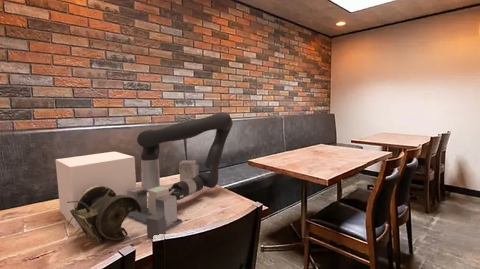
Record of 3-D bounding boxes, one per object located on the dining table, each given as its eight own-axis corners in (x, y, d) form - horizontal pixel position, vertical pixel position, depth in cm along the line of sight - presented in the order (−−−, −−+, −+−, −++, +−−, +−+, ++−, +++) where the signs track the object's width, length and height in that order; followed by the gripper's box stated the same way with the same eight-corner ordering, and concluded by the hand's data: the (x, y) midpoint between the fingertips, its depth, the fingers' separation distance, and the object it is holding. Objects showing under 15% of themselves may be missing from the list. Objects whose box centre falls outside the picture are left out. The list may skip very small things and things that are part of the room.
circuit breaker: (199, 182, 160) (198, 158, 158) (193, 190, 146) (192, 163, 144) (187, 182, 161) (186, 158, 159) (179, 189, 147) (178, 163, 145)
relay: (147, 236, 95) (146, 218, 94) (154, 231, 99) (153, 213, 98) (158, 239, 93) (158, 220, 93) (165, 233, 97) (164, 215, 96)
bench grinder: (122, 208, 113) (96, 170, 104) (151, 219, 98) (124, 177, 90) (77, 246, 99) (43, 207, 91) (103, 266, 85) (66, 222, 77)
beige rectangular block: (147, 206, 124) (147, 196, 123) (155, 204, 126) (155, 193, 126) (152, 208, 121) (151, 198, 120) (160, 206, 124) (159, 195, 123)
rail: (124, 215, 114) (123, 190, 112) (142, 208, 121) (141, 185, 120) (164, 231, 99) (163, 202, 98) (182, 222, 106) (181, 195, 105)
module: (149, 212, 112) (148, 189, 111) (161, 207, 117) (160, 185, 116) (158, 215, 109) (156, 191, 108) (169, 210, 114) (168, 187, 112)
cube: (118, 198, 135) (114, 151, 133) (137, 209, 121) (134, 156, 118) (60, 213, 117) (55, 159, 115) (75, 228, 103) (70, 167, 100)
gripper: (173, 178, 127) (142, 188, 113) (195, 183, 119) (164, 194, 105) (174, 193, 128) (143, 204, 114) (195, 199, 120) (165, 212, 106)
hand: (154, 199), depth 110 cm, fingers closed on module, 5 cm apart
